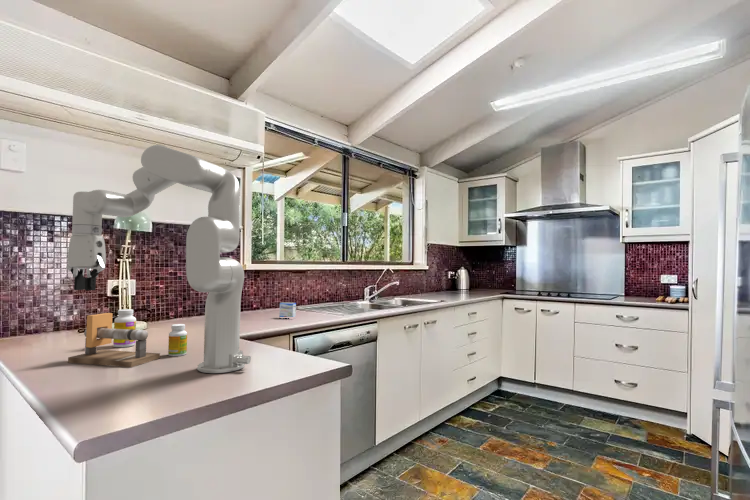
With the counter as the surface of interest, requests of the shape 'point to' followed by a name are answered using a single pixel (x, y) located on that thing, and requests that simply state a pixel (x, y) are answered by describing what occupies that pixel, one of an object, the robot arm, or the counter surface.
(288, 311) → the medicine box
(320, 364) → the counter surface
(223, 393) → the counter surface
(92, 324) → the rubber collar
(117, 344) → the supplement bottle
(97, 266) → the robot arm
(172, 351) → the supplement bottle
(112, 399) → the counter surface
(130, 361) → the pipe stand
